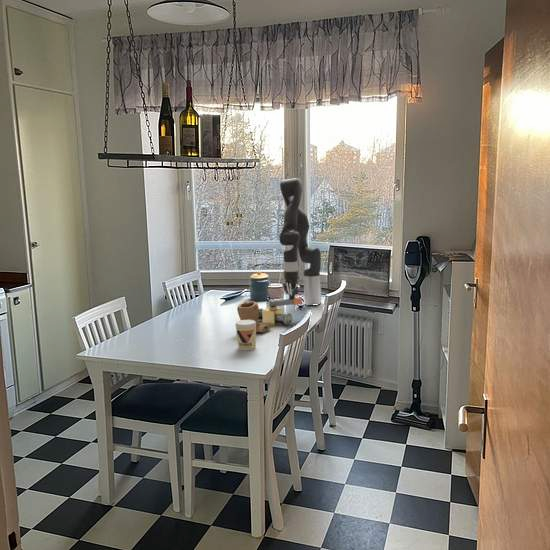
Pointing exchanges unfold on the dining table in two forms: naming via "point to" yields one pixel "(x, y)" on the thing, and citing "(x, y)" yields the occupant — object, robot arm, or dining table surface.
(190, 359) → the dining table surface
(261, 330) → the stone cup
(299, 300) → the lever
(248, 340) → the coffee cup
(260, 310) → the valve pipe
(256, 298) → the canister
